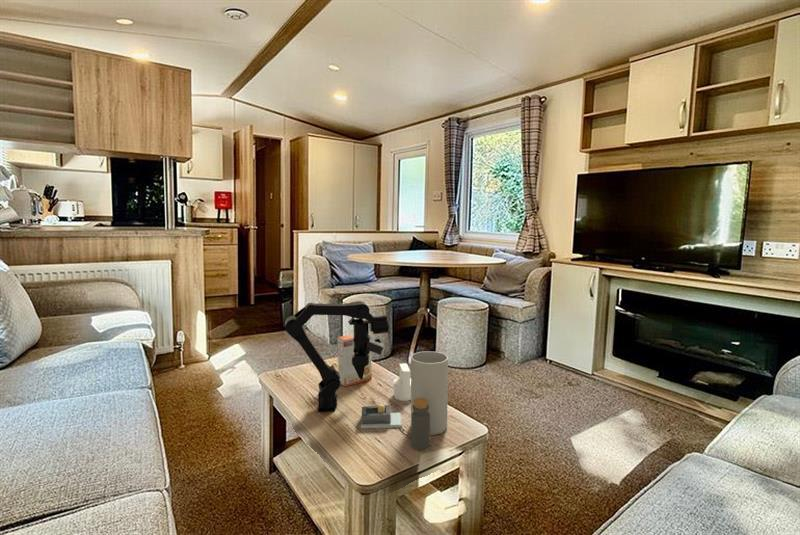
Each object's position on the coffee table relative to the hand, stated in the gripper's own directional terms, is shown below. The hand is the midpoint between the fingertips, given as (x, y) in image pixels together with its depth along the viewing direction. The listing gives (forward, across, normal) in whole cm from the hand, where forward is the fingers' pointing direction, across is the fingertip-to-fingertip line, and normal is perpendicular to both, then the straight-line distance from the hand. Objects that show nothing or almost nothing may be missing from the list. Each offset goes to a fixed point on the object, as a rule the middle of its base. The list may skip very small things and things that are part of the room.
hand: (361, 374), depth 164 cm
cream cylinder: (+12, +7, -17) cm, 22 cm away
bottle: (+12, -31, -20) cm, 39 cm away
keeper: (+12, -14, -7) cm, 20 cm away
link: (+11, -15, -6) cm, 19 cm away
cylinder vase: (+12, -19, -24) cm, 33 cm away
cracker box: (+12, +23, +4) cm, 26 cm away
